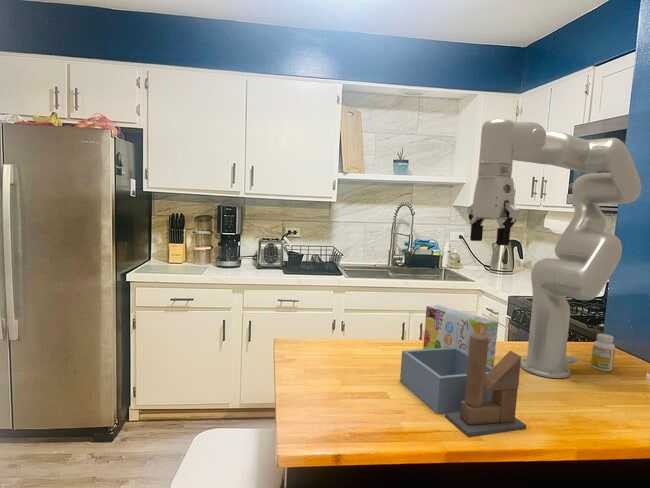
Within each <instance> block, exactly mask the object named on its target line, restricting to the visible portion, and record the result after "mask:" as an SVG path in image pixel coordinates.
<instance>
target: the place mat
mask: <svg viewBox="0 0 650 488" xmlns="http://www.w3.org/2000/svg"><path fill="white" fill-rule="evenodd" d="M444 417H445V419H446V420H448V421H449V422H450V423H451V424H452V425H454V426H455V427H456V428H457V429H458V430H459V431H461V432H462V433H463V434H464V435H465V436H466V437H468V438H470V437H478V436H483V435H491V434H499V433H504V432H511V431H518V430H526V429H527V424H526V423H525V422H523V421H522V420H520V419H518V418H517V417H515V421H514V422H506V423H500V422H499V423H488V424H473V425H468V424H467V423H466V422H465V421H464V420H463V419H462V418H461V417H460V411H457V412H449V413H444Z"/></svg>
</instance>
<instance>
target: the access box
mask: <svg viewBox="0 0 650 488" xmlns="http://www.w3.org/2000/svg"><path fill="white" fill-rule="evenodd" d="M400 362H401V364H400V378H399V382H400V383H401V384H402V385H403V386H405V387H406V388H407V389H408V390H410V392H411V393H413V394H414V396H416V397H417V398H418V399H419V400H420V401H421V402H422V403H423V404H425V405H426V406H427V407H428V408H430V409H431V410H432V411H433V412H434V413H435V414H436V415H438V414H439V415H440V414H445V413H452V412H460V407H461V401H465V389H466V377H467V366H468V353H466V352H464V351H463V350H461V349H459V348H457V347H451V348H436V349H423V348H422V349H410V350H409V349H408V350H407V349H406V350H402V351H401V361H400ZM492 369H493V367H491V366H489V365H487V364H486V375H487V374H488V373H489V372H490V371H491V370H492ZM486 375H485V376H486ZM492 392H493V390H489V391H488V390H487V389H485V388H484V397H483V400H487V401H490V402H492Z"/></svg>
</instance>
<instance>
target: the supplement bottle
mask: <svg viewBox="0 0 650 488" xmlns="http://www.w3.org/2000/svg"><path fill="white" fill-rule="evenodd" d="M615 353H616V346H615V344H614V336H612V335H611V334H606V333H597V335H596V340H595V341H594V342H593V344H592V351H591V360H590V366H591V367H592V368H593V369H596V370H598V371H603V372H611V371H613V368H614V360H615Z"/></svg>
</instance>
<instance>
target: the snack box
mask: <svg viewBox="0 0 650 488" xmlns="http://www.w3.org/2000/svg"><path fill="white" fill-rule="evenodd" d="M425 310H426V311H425V322H424V335H423V345H422V346H423V348H422V349H436V348H451V347H457V348H459V349H461V350H463V351H464V352H466V353H468V354H469V342H470V335H471V334H482V335H485V336H487V337H488V339H489V342H488V353H487V365H489V366H491V367H493V368H494V367H495V366H494V365H495V356H496V347H497V340H498V339H497V337H498V330H499V321H498V320H494V319H491V318H487V317H483V316H479V315H476V314H472V313H470V312H466V311H462V310H458V309H455V308H453V307H448V306H445V305H441V304H433V305H432V304H431V305H427V306H426V309H425Z"/></svg>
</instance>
